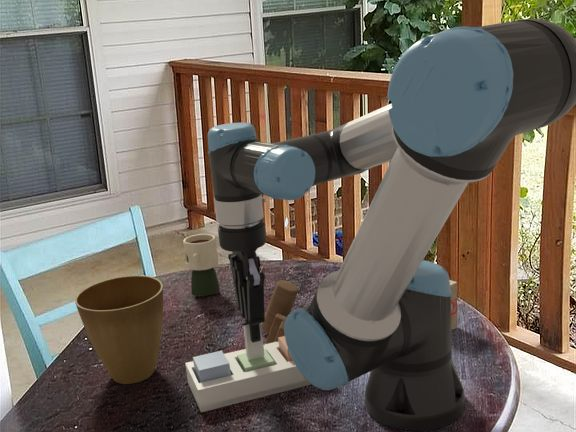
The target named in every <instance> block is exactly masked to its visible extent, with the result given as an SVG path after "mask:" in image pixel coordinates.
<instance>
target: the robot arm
mask: <svg viewBox="0 0 576 432" xmlns="http://www.w3.org/2000/svg"><path fill="white" fill-rule="evenodd" d="M388 83H389V84H388V89H387V101H390V102H391V103H389V104H386V105H385V106H382V107H380V108H378V109H375V110H373V111H371V112H369V113H366V114H364V115H362V116H360V117H357V118H355V119H353V120H351V121H349V122H347V123H343V124H341V125H340V126H336V127H335V128H332V129H329V130H326V131H322V132H318V133H314V134H308V135H304V136H299V137H295V138H291V139H286V140H282V141H279V142H278V141H277V142H263V141H258V136H257V132H256V128H255V126H254V125H253V124H251V123H249V122H231V123H223V124H219V125H215V126H212V127H211V128H210V129H209V130H208V132H207V145H208V146H207V147H208V151H207V155H208V160H209V161H208V163H209V168H210V176H211V181H212V182H211V183H212V190H213V196H214V197H213V202H214V211H215V220H216V222H217V224H218V226H217V232H218V242H219V246H220V248H221V249H222V250H224V251H227V252H231V253H227V254H228V256H227V257H228V260H229V265H230V268H231V274H232V281H233V286H234V293H235V298H236V306H237V310H238V311H239V312H240V317H241V318H242V319H243V320H241V321H240V322H241V326H242V327H243V328H242V329H243V335H244V336H243V337H244V344H245V349H246V355H247V357H248V359H249V360H250V359H254V358H258V357H263V356H264V347H263V345H264V338H263V337H264V336H263V329H262V323H263V322H265V279H266V278H265V277H266V276H265V272H264V271H262V272H261V271H260V268H261V259H260V256H257V252H256V251H257V250H258V249H259V248H261V247H263V246H264V245H265V244H266V243H267V231H266V222H265V221H264V220H263V218H264V215H265V214H264V206H263V204H265V203H266V198H265V197H263V196H266V197H268V198H271V199H276V200H282V201H283V200H285V201H295V200H298V199H301V198H302V197H305V195H306V194H307V193H308V192H309V191H310V190H311V189H312V187H314V186H318V185H320V184H321V185H322V184H324V183H327V182H332V181H335V180H338V179H339V180H340V179H343V178H347V177H352V176H355V175H359V174H362V173H364V172H366V171H369V170H372V169H373V168H374V167H377V166H381V165H383V164H386V163H388V162H390V163H389V164H388V167H387V169H386V171H385V173H384V175H383V177H382V179H381V181H380V183H379V185H378V188H377V190H376V191H375V194H374V196H373V198H372V200H371V203H370V205H369V206H368V209H367V210H366V213H365V215H364V217H363V219H362V222H361V224H360V225H359V227H358V230H357V232H356V234H355V236H354V238H353V241H352V242H351V245H350V247H349V249H348V251H347V252H346V255H345V257H344V259H343V261H342V264H341V266H340V267H339V270H335V271H333V272H331V273H329V274H327V275H326V276H325V277H324V278H323V279H322V280H321V281H320V283H319V285H318V287H317V289H316V291H315V293H314V295H313V298H312V300H311V301H310V303H308V304H307V305H305V306H304V307H303V308H301V307H300V306H298V307H297V308H295V310H293V311H291V312H290V314H289V315H288V316H287V318H286V320H285V325H284V335H285V340H286V344H287V347H288V350H289V353H290V355H291V358H292V360H293V362H294V363H295V365H296V367H297V368H298V370H299V371H300V373H301V374H302V375H303V376H304V378H305V379H306V380H307V381H308V382H310V383H311V385H312V386H313V387H315V388H319V389H320V390H323V391H331V390H334V389H337V388H339V387H343V386H347V385H348V384H349V383H350V382H351V381H354V380H356V379H358V378H360V377H361V376H363V375H366V374H368V373H369V376H368V379H367V382H366V386H365V388H364V390H365V391H364V397H365V399H364V400H365V401H364V402H365V403H364V404H365V408H366V411H367V412H368V414H369V416H370V417H371V418H373V419H374V420H375V421H376V422H378V423H379V424H382V425H385V426H387V427H390V428H392V429H397V430H403V431H409V432H411V431H412V432H414V431H415V432H422V431H430V430H436V429H440V428H443V427H445V426H448V425H451V424H452V423H453V422H455V421H456V420H458V419H459V418H460V417H461V416H462V415H463V412H464V410H465V405H466V403H465V390H464V387H463V384H462V382H461V378H460V376H459V374H458V371H457V368H456V366H455V363H454V360H453V354H452V350H453V349H452V348H453V347H452V330H451V296H452V293H451V291H450V280H451V279H450V276H449V273H448V271H447V270H446V269H445V268H444V267H443V266H441V265H440V264H438V263H435V262H432V261H429V260H425V258H426V255H428V253H429V251H430V249H431V248H432V246H433V244H434V242H435V241H436V238H437V237H438V235H439V234H440V232H441V230H442V229H443V227H444V226H445V224H446V222H447V221H448V219H449V217H450V215H451V214H452V212H453V210H454V208H455V207H456V205H457V203H458V202H459V200H460V198H461V196H462V195H463V193H464V191H465V190H466V188H467V186H468V184H469V183H475V182H479V181H482V180H484V179H486V178H488V177H489V176H490V174H492V172H493V171H494V169H495V167H496V165H497V164H498V162H499V161H500V159H501V157H502V156H503V155H504V153H505V151H506V150H507V148H508V146H509V144H510V143H511V142H512V141H513V139H515V137H516V136H518V135H522V134H525V133H528V132H531V131H535V130H539V129H540V128H545V127H547V126H549V125H552V124H553V123H556V122H557V121H559V120H560V119H562V118H564V117H565V116H566V115H567V114H568V113H569V112H570V111H571V110H572V109H573V108H574V107H575V105H576V39H575V37H574V36H573V35H572V34H571V33H569V31H567V30H566V29H565V28H564V27H562V26H561V25H558V24H556V23H554V22H551V21H549V20H546V19H545V20H544V19H540V18H539V19H538V18H524V19H518V20H513V21H505V22H498V23H494V24H488V25H487V24H485V25H481V26H456V27H452V28H451V27H450V28H447V29H444V30H442V31H440V32H437V33H433V34H430V35H427V36H425V37H423V38H421V39H419V40H418V41H416V42H415V43H414V44H412V45H410V47H409V48H407V50H406V51H405V52H404V53H403V54H402V55H401V57H400V58H399V60H398V61H397V62H396V65H395V66H394V69H393V71H392V73H391V77H390V79H389V82H388ZM262 195H263V196H262Z"/></svg>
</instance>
